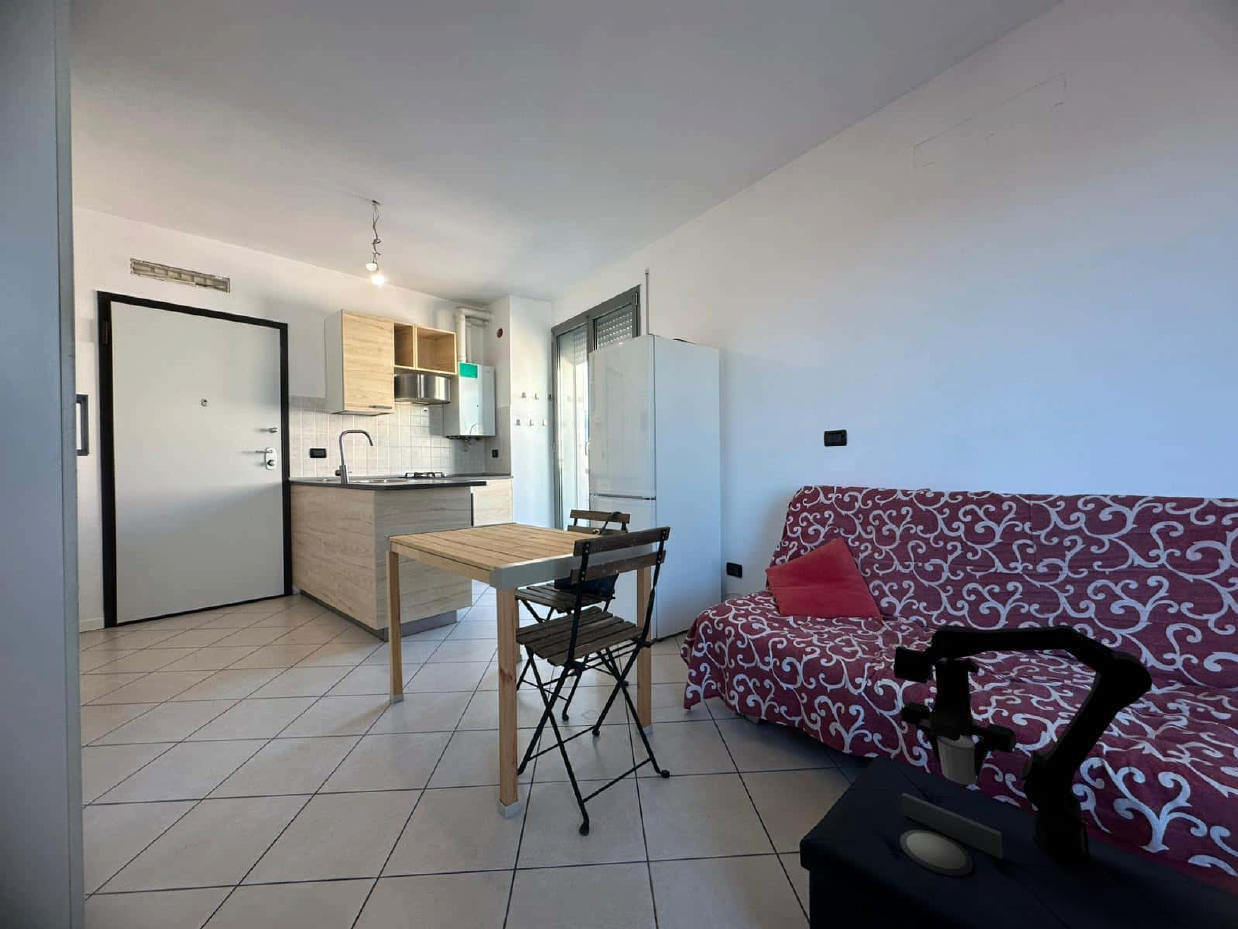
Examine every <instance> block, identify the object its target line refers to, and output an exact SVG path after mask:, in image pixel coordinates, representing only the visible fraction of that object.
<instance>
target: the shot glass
mask: <svg viewBox="0 0 1238 929" xmlns="http://www.w3.org/2000/svg"><path fill="white" fill-rule="evenodd" d="M937 743H938V748H939V754H940V760H941V763H940V766H941V770H942V771H941V772H942V774H943V776H944V777H945V778H947V779H948V780H950V781H952V782H954V783H957V784H960V785H965V786H966V785H967V786H971V785H974V784H977V776H976V770H975V764H976V749H975V744H976V743H977V742H975V741H973V740H971V739H970V738H969V737H968V738H967V737H965V736H961V735H960V739H959V740H958V741H952V740H950V739H948V738H945V737H942V736H937Z"/></svg>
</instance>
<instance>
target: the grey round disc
mask: <svg viewBox="0 0 1238 929" xmlns="http://www.w3.org/2000/svg"><path fill="white" fill-rule="evenodd" d="M899 840H900V841H899V842H900V847H901V848H902V850H903V852H904V853H905V854H906V855H907V857H909V858H910V859H911V860H912V861H913V862H914V863H916V864H917V865H919V866H921V867H923V868H924V869H927V870H929V871H932V872H934V873H937V874H940V873H941V874H940V875H944V876H949V877H962V876H966V875H968V874H970V873H971V872H972V871H973V869H974V862H973V859H972V857H971V855H970V854H969V853H968V851H967V850H966V849H965V848H964V847H963V846H961V845H960V844H959V843H957V842H956V841H954V840H953V839H950V838H948V837H946V836H944V835H942V834H939V833H936V832H932V831H929V830H920V829H914V830H913V829H912V830H908V831H905V832H903V833H902V834H901V836H900V839H899Z"/></svg>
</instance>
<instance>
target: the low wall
mask: <svg viewBox="0 0 1238 929" xmlns="http://www.w3.org/2000/svg"><path fill="white" fill-rule="evenodd" d="M901 806H902V807H901V808H902V816H903V815H906V816H908V817H910V818H912V819H914V820H916V821H919V822H921V823H923V824H924V825H923V824H922V825H923V826H925V825H928V826H929V827H928V826H927V827H928V828H930V827H932V828H935V829H936V830H935V831H937V830H938V831H937V832H939V833H941V832H942V833H941V834H943V833H944V834H943V835H946V836H949V837H950V838H952V839H955V840H957V841H959V842H962V843H964V844H965V845H969V847H970V846H971V847H972V848H975V849H977V850H980V851H982V852H984V853H986V854H988V855H991V856H993V857H995V858H997V859H999V860H1002V859H1003V857H1004V853H1003V852H1004V850H1003V842H1002V832H1001V831H999V830H997V829H993V828H991V827H989V826H986V825H985V824H981V823H979V822H977V821H974V820H971V819H970V818H967V817H965V816H963V815H959V814H957V813H954V812H952V811H949V810H948V809H946V808H943V807H940V806H937V805H935V804H933V803H930V802H928V801H925V800H923V799H921V798H918V797H915V796H913V795H911V794H908V793H906V792H903V793H902V794H901ZM912 819H911V820H912ZM914 820H913V821H914ZM916 821H915V822H916ZM919 822H918V823H919ZM921 823H920V824H921ZM932 828H931V829H932Z"/></svg>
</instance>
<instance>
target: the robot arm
mask: <svg viewBox="0 0 1238 929" xmlns="http://www.w3.org/2000/svg"><path fill="white" fill-rule="evenodd" d="M930 642H931V645H930V646H929V645H928V646H926V648H925V650H919V649H911V648H908V647H905V646H900V645H898V646H897V647H895V655H894V660H893V661H894V663H893V665H892V667H893V669H892V670H893V676H894V678H895V679H898V680H902V681H907V682H913V683H917V684H921V685H922V684H923V685H927V683H928V681H933V679H934V674H935V686H936V689H935V690H936V693H935V694H934V703H933V704H934V705H933V707H932V709H930V706H928V705H925V704H922V703H919V702H915V701H910V702H909V703H907V704H906V705H904V706H903V707H902V708H901V711H900V716H901V717H900V718H901V721H902V722H904V723H908V724H911V725H915V728H916V730H920V731H921V733H923V734H924V735H925V737H926V739H927V740H928V743H929V744H930V746H931V749H932V751H933V753H934V756H935V758H936V760H937V763H939V764H941V760H940V754H939V748H938V743H937V736H942V737H945V738H948V739H950V740H952V741H958V740H959V739H960V736H962V737H965V736H967V737H968V738H970V737H972V736H975V737H977V739H978V740H977V741H976V742H975V743H976V744H975V749H976V764H975V770H976V777H978V778H979V777H980V775H981V774H982V771H983V768H984V765H985V763H986V762H985V761H986V759H987V757H988V754H989V753H994V752H995V751H999V752H1003V753H1007V754H1008V753H1009V754H1011V753H1012V751H1013V750H1014V749H1015V748H1016V746H1017V744H1018V742H1017V741H1018V740H1017V734H1016V733H1015V731H1014V730H1013V729H1012V728H1009V727H1005V726H1002V725H998V724H995V723H991V722H990V723H989V724H988V725H987V726H986V727H984V726H980V725H977V724H974V723H973V720H974V715H973V714H972V704H971V701H972V693H970V680H969V679H970V678H969V673H973V674H978V673H979V670H980V666H979V665H978V664H977V663H976V662H974V661H973V659H972V658H971V657H972V656H975V655H980V654H982V653H987V652H1019V651H1020V652H1021V651H1023V652H1024V651H1025V652H1026V651H1028V652H1029V651H1065V652H1066V653H1068V654H1070V656H1071V655H1072V657H1074V658H1076V659H1077V660H1079V661H1080V662H1081V663H1082V664H1084V665H1086V666H1087V667H1088V668H1090V669H1091V670H1093V671H1095V674H1094V677H1093V681H1092V684H1091V688H1090V692H1088V693H1089V694H1088V695H1087V696H1086V698H1085V699H1084V700H1083V702H1082V703H1081V705H1080V706H1079V708H1078V709H1077V710H1076V712H1075V713H1074V715H1073V717H1072V718H1071V719H1070V721H1069V722H1068V724H1067V725H1066V727H1065V728H1064V729H1063V731H1062V732H1061V734H1060V735H1059V737H1058V738H1057V739H1056V741H1055V742H1054V744H1053V745H1052V747H1051V749H1049V750H1048V751H1047V752H1045V753H1044V754H1040V753H1039V752H1038V751H1036V750H1035V749H1033V750H1031V754H1030V757H1029V759H1028V760H1027V761H1026V762H1024V763H1022V767H1021V780H1023V783H1022V784H1023V785H1022V787H1023V793H1024V795H1025V798H1026V799H1027V800H1028V801H1029V803H1030V804H1032V805H1033V806H1034V807H1035V808H1037V810H1035V813H1036V814H1035V815H1036V816H1035V817H1036V819H1035V820H1034V827H1035V828H1034V830H1035V836H1032V837H1031V839H1032V841H1033V842H1034V843H1035V844H1036V845H1037V846H1038V847H1039V848H1041V849H1042V851H1044V852H1045V854H1047V855H1048V856H1050V857H1051V859H1053V860H1054V861H1055V862H1056V863H1058V864H1059V865H1062V866H1080V867H1081V866H1082V867H1094V868H1095V867H1099V863H1098V861H1096V860H1095V859H1094V858H1093V857H1091V854H1090V844H1089V832H1088V823H1087V822H1085V820H1084V817H1083V812H1082V811H1083V810H1082V803H1081V800H1080V799H1079V798H1078V797H1077V796H1075V794H1074V793H1073V792H1071V789H1072V787H1073V782H1074V779H1075V775H1076V772H1078V770H1079V768H1080V766H1081V765H1082V764H1083V762H1084V761H1085V760H1086V758H1087V757H1088V755H1089V754H1090V752H1091V751H1092V750H1093V749H1094V747H1095V745H1097V743H1098V741H1099V740H1100V738H1101V737H1102V735H1103V734H1104V733H1105V732H1106V730H1107V729H1108V728H1109V726H1110V724H1111V723H1112V721H1113V720H1114V719H1115V717H1117V714H1118V713H1119V712H1120V711H1122V710H1124V709H1125V708H1128V707H1129V706H1131V705H1132V704H1135V703H1136V702H1137V701H1138V700H1139V699H1141V698H1142V697H1143V696H1145V694H1147V693H1148V692H1149V691H1150V690H1151V689H1152V686H1153V678H1152V676H1151V674H1150V672H1149V670H1148V669H1147V668H1146V666H1145V664H1144V663H1143V662H1142V661H1141V660H1140V658H1138V657H1137V656H1135V655H1133V654H1131V653H1129V652H1126V651H1120V650H1114V649H1113V648H1111V647H1109V646H1107V645H1105V644H1104V643H1101V642H1100V641H1099V640H1098V641H1097V640H1095V639H1094V638H1091V637H1089V636H1088V635H1085V634H1084V633H1081V632H1080V631H1078V630H1077V629H1076V628H1074V627H1073V626H1070V625H1068V624H1058V625H1057V624H1056V625H1054V626H1032V627H1013V628H1011V627H1009V628H1008V627H1007V628H991V629H990V628H989V629H985V628H984V629H982V628H975V627H970V626H962V625H953V624H945V625H941V626H939V627H938V628H937V629H936V631H935V632H934V633H933V634H932V635H931V639H930ZM962 658H965V659H962ZM943 659H946V660H943Z"/></svg>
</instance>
